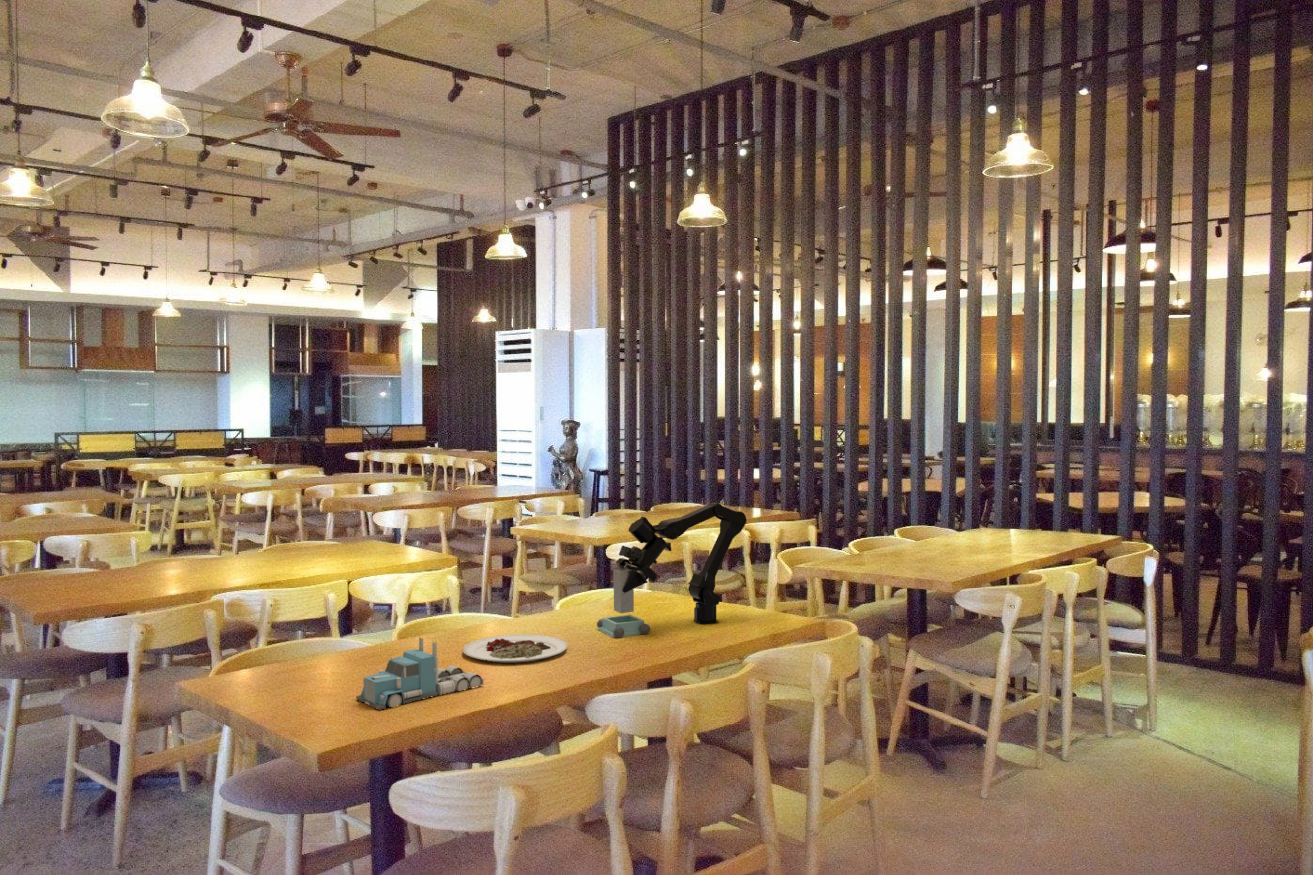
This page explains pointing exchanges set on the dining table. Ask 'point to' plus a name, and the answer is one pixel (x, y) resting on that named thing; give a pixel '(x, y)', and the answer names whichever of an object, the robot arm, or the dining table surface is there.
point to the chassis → (622, 626)
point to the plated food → (515, 648)
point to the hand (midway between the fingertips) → (619, 590)
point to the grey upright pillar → (621, 599)
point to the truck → (414, 679)
